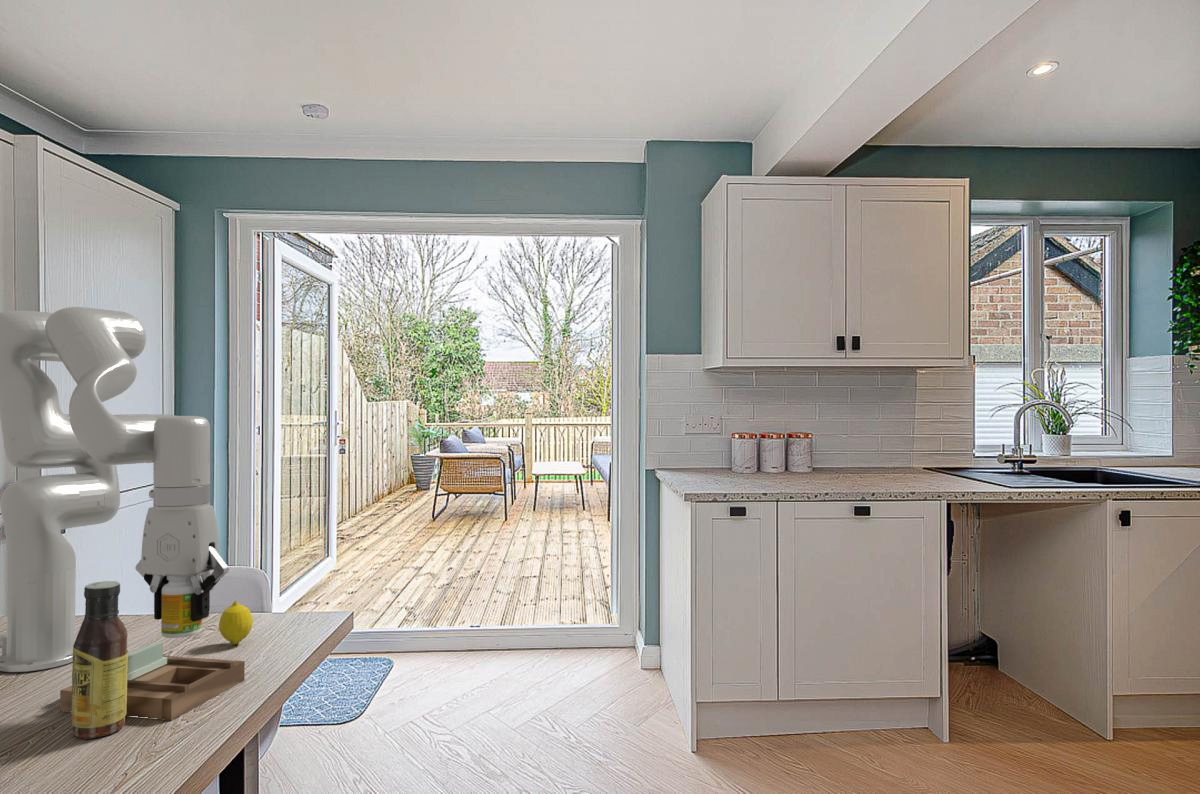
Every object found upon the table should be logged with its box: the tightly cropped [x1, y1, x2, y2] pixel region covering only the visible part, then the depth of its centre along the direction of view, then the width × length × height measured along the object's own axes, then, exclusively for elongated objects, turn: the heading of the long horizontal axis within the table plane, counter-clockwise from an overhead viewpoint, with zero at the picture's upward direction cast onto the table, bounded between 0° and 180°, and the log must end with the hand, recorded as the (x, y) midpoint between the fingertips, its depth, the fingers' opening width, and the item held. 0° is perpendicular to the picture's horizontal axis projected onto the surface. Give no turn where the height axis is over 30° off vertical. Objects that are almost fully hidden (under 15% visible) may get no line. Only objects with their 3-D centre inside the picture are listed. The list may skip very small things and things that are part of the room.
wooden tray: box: [59, 655, 245, 721], centre depth 116 cm, size 18×16×4 cm
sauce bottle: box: [71, 580, 129, 740], centre depth 103 cm, size 6×6×20 cm
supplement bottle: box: [160, 576, 203, 639], centre depth 115 cm, size 5×5×10 cm
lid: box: [127, 641, 167, 680], centre depth 117 cm, size 8×8×4 cm
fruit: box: [218, 600, 254, 646], centre depth 140 cm, size 6×6×8 cm
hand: (181, 616), depth 115 cm, fingers closed on supplement bottle, 5 cm apart
